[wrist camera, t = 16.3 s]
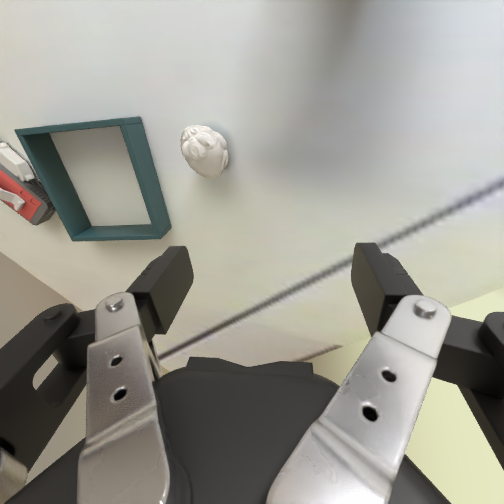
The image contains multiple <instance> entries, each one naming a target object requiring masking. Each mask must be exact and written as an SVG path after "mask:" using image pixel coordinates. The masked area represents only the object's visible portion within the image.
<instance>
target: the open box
mask: <svg viewBox="0 0 504 504" xmlns="http://www.w3.org/2000/svg"><path fill="white" fill-rule="evenodd" d="M111 126H120V128H121V131H122V134H123V137H124V140H125V143H126V146H127V149H128V152H129V155H130V159H131V162H132V165H133V168H134V171H135V174H136V177H137V180H138V183H139V186H140V189H141V193H142V196H143V199H144V202H145V205H146V208H147V211H148V214H149V217H150V220H151V224H152V225H123V226H94V227H91V224H90V222H89V220H88V217H87V215H86V213H85V211H84V209H83V207H82V204H81V202H80V200H79V198H78V196H77V194H76V191H75V189H74V187H73V185H72V183H71V181H70V178H69V176H68V174H67V172H66V170H65V168H64V165H63V163H62V161H61V159H60V157H59V155H58V152H57V150H56V148H55V146H54V144H53V142H52V139H51V137H50V135H49V133H52V132H62V131H71V130H81V129H91V128H101V127H111ZM14 131H15V132H16V134H17V137H18V138H19V140H20V142H21V144H22V146H23V148H24V150H25V152H26V154H27V156H28V158H29V160H30V161H31V163H32V165H33V167H34V169H35V171H36V173H37V175H38V177H39V179H40V181H41V182H42V184H43V186H44V188H45V190H46V192H47V194H48V196H49V198H50V200H51V202H52V204H53V205H54V207H55V209H56V211H57V213H58V215H59V217H60V219H61V221H62V223H63V225H64V226H65V228H66V230H67V232H68V234H69V236H70V237H71V240H72V241H108V240H147V239H161V238H162V237H163V236H164V235H165V234H166V233H167V232H168V231H169V230H170V229H171V224H170V220H169V217H168V213H167V210H166V206H165V202H164V199H163V195H162V192H161V188H160V185H159V181H158V178H157V174H156V170H155V167H154V163H153V160H152V156H151V153H150V149H149V145H148V142H147V138H146V135H145V131H144V128H143V124H142V121H141V117H131V118H119V119H110V120H100V121H91V122H82V123H72V124H63V125H53V126H44V127H34V128H25V129H15V130H14Z"/></svg>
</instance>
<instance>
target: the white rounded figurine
mask: <svg viewBox="0 0 504 504" xmlns="http://www.w3.org/2000/svg"><path fill="white" fill-rule="evenodd" d="M226 147H227V144H226V142H225V140H224V138H223V137H222V136H221V135H220V134H219V133H217V132H214V131H213V130H212V129H211V128H209V127H206V126H190V127H188V128H186V129H185V130H184V131H183V133H182V136H181V150H182V154H183V157H184V158H185V160H186V161H187V162H188V164H189V166H190V167H191V168H192V169H193V170H195V171H196V172H197V173H198V174H200V175H202V176H204V177H207V178H218V177H219V176H220V175H221V173H222V171H223V169H225V168H226V166H227V164H228V160H229V154H228V151H227V149H226Z"/></svg>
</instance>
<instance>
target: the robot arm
mask: <svg viewBox="0 0 504 504" xmlns="http://www.w3.org/2000/svg"><path fill="white" fill-rule="evenodd" d="M193 278H194V275H193V269H192V265H191V261H190V258H189V254H188V250H187V248H186V247H185V246H170V247H168V249H167V250H166V251H165V252H164V253H163V255H162V256H159V257H158V258H156V259H155V260H153V261H152V262H150V264H149V265H148V266H147V267H146V268H145V270H144V271H143V272H142V273H141V275H139V276H138V278H137V279H136V280H135V281H134V282H133V283H132V285H131V286H130V287H129V288H128V289H127V290H126V292H121V293H116V294H113V295H111V296H109V297H107V298H105V299H104V300H102V301H101V302H100V303H99V304H98V305H97V306H96V308H95V309H94V310H89V311H84V312H80V313H78V312H77V311H76V309H75V307H74V306H73V305H72V304H67V303H66V304H60V305H56V306H53V307H51V308H49V309H47V310H45V311H43V312H42V313H40V314H39V315H38V316H36V317H35V318H34V319H33V320H32V321H31V322H30V323H29V324H28V325H26V326H25V327H24V329H22V330H21V331H20V332H19V333H18V334H17V335H15V336H14V337H13V338H12V339H11V340H10V341H9V342H8V343H7V344H5V345H4V346H3V347H2V348H1V349H0V504H451V503H450V502H449V501H448V500H447V499H446V497H445V496H444V495H443V494H442V493H441V492H440V491H439V490H438V489H437V488H436V487H435V486H434V485H433V484H432V482H431V481H430V480H429V479H428V478H427V477H426V476H425V475H424V474H423V473H422V472H421V470H420V469H419V468H418V467H417V466H416V465H415V464H414V463H413V462H412V461H411V460H410V459H409V458H408V456H407V455H406V454H405V450H406V448H407V445H408V442H409V439H410V437H411V433H412V431H413V428H414V425H415V423H416V420H417V417H418V414H419V411H420V409H421V406H422V403H423V401H424V398H425V395H426V392H427V389H428V386H429V384H430V381H431V378H432V377H434V378H437V379H440V380H443V381H446V382H450V383H453V384H456V385H458V387H459V389H460V391H461V393H462V394H463V396H464V398H465V400H466V402H467V404H468V405H469V408H470V409H471V411H472V413H473V415H474V417H475V419H476V420H477V422H478V424H479V426H480V428H481V430H482V431H483V433H484V435H485V437H486V439H487V441H488V442H489V444H490V446H491V448H492V450H493V451H494V453H495V455H496V457H497V459H498V461H499V463H500V464H501V466H502V468H503V470H504V312H493V313H490V314H488V315H487V316H486V318H485V320H484V321H483V322H479V321H475V320H470V319H466V318H460V317H457V316H453V315H451V312H450V311H449V309H448V308H447V307H446V306H445V305H443V304H442V303H440V302H439V301H437V300H435V299H432V298H430V297H427V296H424V295H423V294H422V293H421V291H420V290H419V288H418V287H417V286H416V284H415V283H414V282H413V280H412V279H411V277H410V276H409V275H408V273H407V272H406V270H405V269H403V266H402V265H401V264H400V262H399V261H398V260H397V259H396V258H394V257H393V256H391V255H390V254H388V253H381V251H380V249H379V248H378V246H377V245H376V243H356V245H355V248H354V255H353V262H352V270H351V282H352V286H353V288H354V291H355V294H356V297H357V299H358V302H359V305H360V307H361V310H362V313H363V316H364V318H365V321H366V324H367V326H368V329H369V332H370V335H371V337H372V338H371V339H370V341H369V342H368V344H367V346H366V347H365V349H364V350H363V352H362V353H361V355H360V356H359V358H358V359H357V361H356V362H355V364H354V366H353V367H352V369H351V370H350V372H349V373H348V375H347V376H346V378H345V379H344V381H343V383H342V384H341V386H339V385H337V384H336V383H334V382H333V381H331V380H329V379H327V378H324V377H323V376H320V375H317V374H314V373H313V365H312V363H307V362H286V361H279V362H274V363H268V364H263V365H258V366H252V367H245V366H242V365H239V364H235V363H232V362H229V361H226V360H223V359H219V358H206V357H190V358H189V360H188V363H187V365H186V367H183V368H180V369H176V370H174V371H172V372H169V373H167V374H165V375H164V376H163V373H162V369H161V366H160V362H159V359H158V355H157V352H156V348H155V345H154V342H153V340H152V338H153V337H154V335H155V334H165V335H166V333H167V331H168V329H169V327H170V325H171V324H172V322H173V320H174V318H175V316H176V314H177V312H178V310H179V308H180V306H181V304H182V303H183V301H184V299H185V297H186V295H187V293H188V291H189V289H190V287H191V285H192V283H193ZM51 354H52V355H53V356H54V357H55V358H56V360H57V361H58V362H59V363H58V364H57V365H56V367H55V368H54V369H53V370H52V372H51V373H50V374H49V375H48V376H47V378H46V379H45V380H44V381H43V382H42V384H41V385H40V386H39V387H38V389H37V390H35V389H34V387H33V383H32V382H33V377H34V374H35V373H36V372H37V370H38V369H39V368H40V367H41V366H42V365H43V364H44V362H45V361H46V360H47V359H48V358H49V357H50V356H51ZM86 384H87V395H86V396H87V397H86V437H85V438H84V439H82V440H81V441H80V442H79V443H78V444H76V445H75V446H74V447H73V448H71V449H70V450H69V451H68V452H66V453H65V454H64V455H63V456H61V457H60V458H59V459H58V460H56V461H55V462H54V463H53V464H52V465H50V466H49V467H48V468H47V469H45V470H44V471H43V472H42V473H40V474H39V475H38V476H37V477H36V478H34V479H33V480H32V481H31V482H30V483H28V484H27V485H26V486H25V483H26V479H27V474H28V473H29V471H30V470H31V468H32V467H33V465H34V463H35V462H36V460H37V459H38V457H39V456H40V454H41V453H42V451H43V450H44V448H45V447H46V445H47V443H48V442H49V441H50V439H51V437H52V436H53V434H54V433H55V431H56V430H57V428H58V427H59V425H60V424H61V422H62V421H63V419H64V417H65V416H66V415H67V413H68V412H69V410H70V409H71V407H72V406H73V404H74V402H75V401H76V399H77V398H78V396H79V395H80V393H81V392H82V390H83V388H84V387H85V386H86Z"/></svg>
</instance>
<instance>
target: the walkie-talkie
mask: <svg viewBox="0 0 504 504" xmlns="http://www.w3.org/2000/svg"><path fill="white" fill-rule="evenodd" d="M0 200H1V201H3V202H4V203H5V204H6V205H8V206H9V207H11V208H12V209H13V210H15V211H16V212H17V213H18V214H20V215H21V216H22V217H24V218H25V219H26V220H28V221H29V222H30V223H32V224H33V225H36V226H37V225H39V224H41V223H43V222H45V221H47V220H49V218H50V217H51V215H52V214H53V212H54V211H56V209H55V207H54V205H53V204H52V202H51V200H50V198H49V196H48V194H47V192H46V190H45V188H44V187H43V186H42V185H41V184H40V183H38V182H37V181H36V180H35V176H34V174H33V172H32V170H31V169H30V167H29V165H28V163H27V162H26V161H24V160H23V159H22V158H21V157H20V156H19V155H17V154H16V153H15V152H14V151H13V150H12V149H10V148H9V146H8V145H7V144H6V143H0Z"/></svg>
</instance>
